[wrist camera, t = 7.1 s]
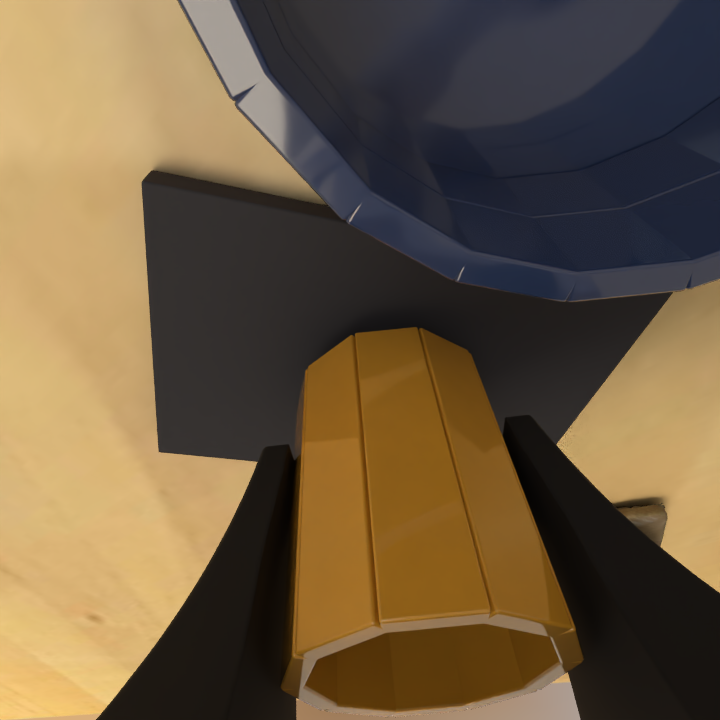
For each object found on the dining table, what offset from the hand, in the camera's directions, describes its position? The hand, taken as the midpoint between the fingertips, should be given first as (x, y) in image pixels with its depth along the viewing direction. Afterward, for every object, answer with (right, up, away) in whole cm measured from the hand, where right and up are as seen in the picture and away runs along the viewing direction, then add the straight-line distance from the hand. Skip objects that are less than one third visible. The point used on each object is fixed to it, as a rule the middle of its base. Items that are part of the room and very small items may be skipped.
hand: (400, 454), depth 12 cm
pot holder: (0, +2, +3) cm, 4 cm away
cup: (0, +1, +1) cm, 2 cm away
